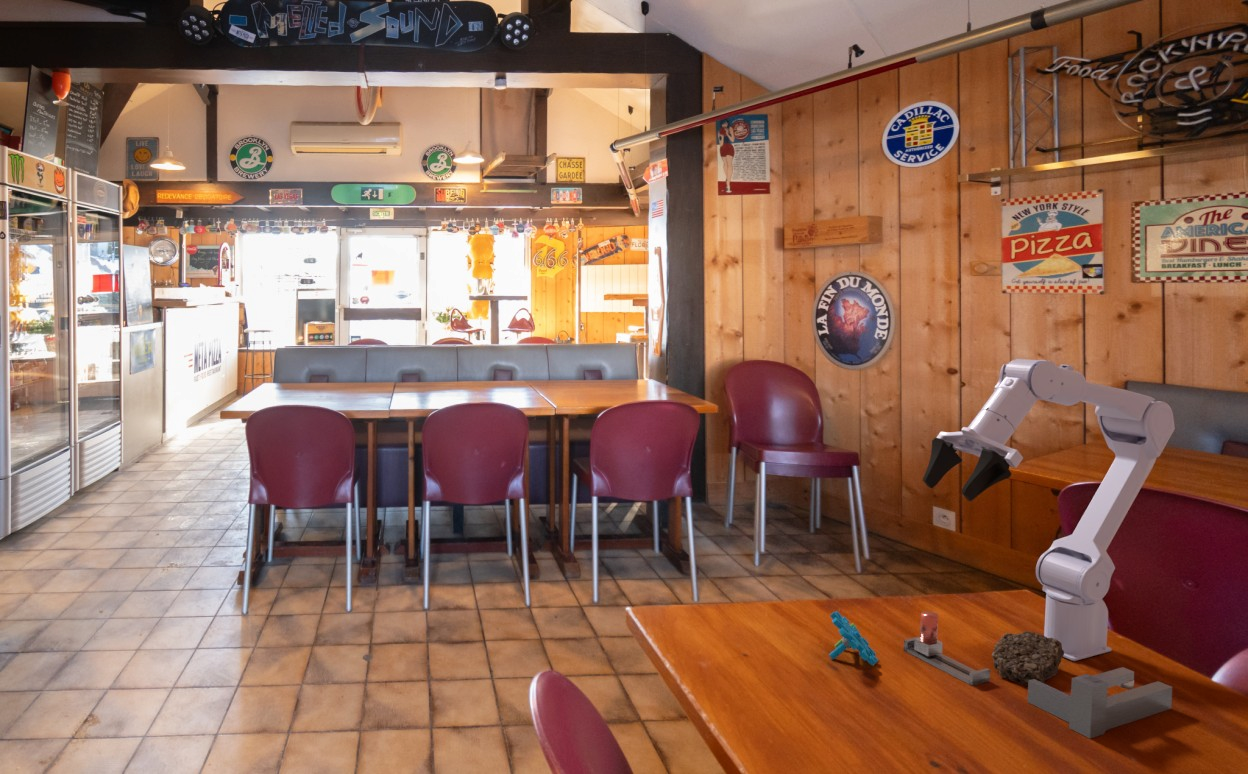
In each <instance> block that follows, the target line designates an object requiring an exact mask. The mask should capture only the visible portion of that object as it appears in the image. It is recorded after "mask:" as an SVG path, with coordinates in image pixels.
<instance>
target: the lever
mask: <svg viewBox="0 0 1248 774" xmlns="http://www.w3.org/2000/svg"><path fill="white" fill-rule="evenodd" d="M938 630H939V614H938V613H936V612H933V611H927V610H926V611H922V612H921V613H920V632H919V633H920V635H919V637H920V638H916V639H915V645H914V650H916V651H918V652H920V653H922V654H924V655H926V656H933V655H937V654H943V641H940V640H938Z"/></svg>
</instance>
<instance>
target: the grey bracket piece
mask: <svg viewBox="0 0 1248 774" xmlns="http://www.w3.org/2000/svg"><path fill="white" fill-rule="evenodd" d="M1115 686H1118V687H1120V688H1122V689H1127V690H1125V691H1122V692H1118V693H1115V694H1112V695H1108V688H1109V689H1110V688H1112V687H1115ZM1134 686H1135V671H1133V670H1131V669H1128V668H1126V667H1118V668H1115V669H1112V670H1111V669H1110V670H1108V671H1105V672H1101V673H1098V674H1093V675H1090V674H1088V673H1086V674H1085V673H1084V674H1081V675H1077V676H1075V677H1071V686H1070V687H1071V688H1070V695H1069V694H1067V693H1065V692H1063V691H1061V690H1059V689H1057V688H1055V687H1052V686H1050V685H1048V684H1046V683H1045V682H1044V683H1042V682H1040V681H1038V680H1035V679H1032V680H1029V681H1028V685H1027V703H1028V704H1030V705H1033V706H1034V707H1037V708H1039V709H1040V710H1042V711H1044V712H1046V713H1048V714H1051V715H1053V716H1054V717H1057V718H1058V719H1060V720H1062V721H1065V722H1067V723H1068V728H1069V729H1070V730H1072V731H1074V732H1076V733H1077V734H1080V735H1081V736H1084V737H1086V738H1088V739H1094V738H1096V737H1099V736H1102V735H1105V734H1106V731H1108V730H1112V729H1115V728H1116V727H1120V726H1125V725H1126V724H1130V723H1132V722H1135V721H1138V720H1142V719H1144V718H1148V717H1151V716H1153V715H1156V714H1159V713H1162V712H1165V711H1168V710H1171V709H1172V702H1173V701H1172V700H1173V699H1172V697H1173V687H1174V686H1171V685H1168V684H1165V683H1163V682H1161V681H1155V682H1151V683H1148V684H1145V685H1141V686H1138V687H1134Z"/></svg>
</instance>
